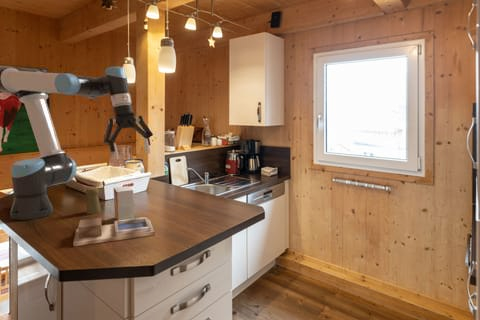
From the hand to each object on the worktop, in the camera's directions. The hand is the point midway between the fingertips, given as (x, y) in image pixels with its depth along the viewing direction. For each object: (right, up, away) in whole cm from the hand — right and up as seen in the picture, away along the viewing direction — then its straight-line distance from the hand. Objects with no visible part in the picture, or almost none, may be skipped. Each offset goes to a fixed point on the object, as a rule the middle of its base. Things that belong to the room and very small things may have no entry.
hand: (133, 156), depth 129 cm
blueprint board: (-1, -28, -16) cm, 32 cm away
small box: (-3, -26, -1) cm, 26 cm away
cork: (-20, -25, +8) cm, 33 cm away
